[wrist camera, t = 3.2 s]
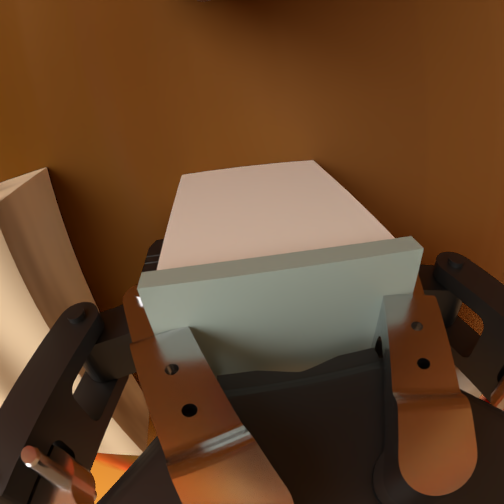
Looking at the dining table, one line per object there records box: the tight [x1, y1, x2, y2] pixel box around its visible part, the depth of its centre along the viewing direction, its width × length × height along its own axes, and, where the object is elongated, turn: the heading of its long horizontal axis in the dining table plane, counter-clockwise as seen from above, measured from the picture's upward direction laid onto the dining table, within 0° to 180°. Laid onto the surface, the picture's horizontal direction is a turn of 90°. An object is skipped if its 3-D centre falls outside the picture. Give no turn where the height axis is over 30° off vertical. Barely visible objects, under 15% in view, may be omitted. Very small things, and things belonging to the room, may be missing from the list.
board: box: [0, 167, 149, 455], centre depth 12 cm, size 10×16×4 cm, turn 5°
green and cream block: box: [137, 160, 424, 379], centre depth 10 cm, size 5×5×7 cm
